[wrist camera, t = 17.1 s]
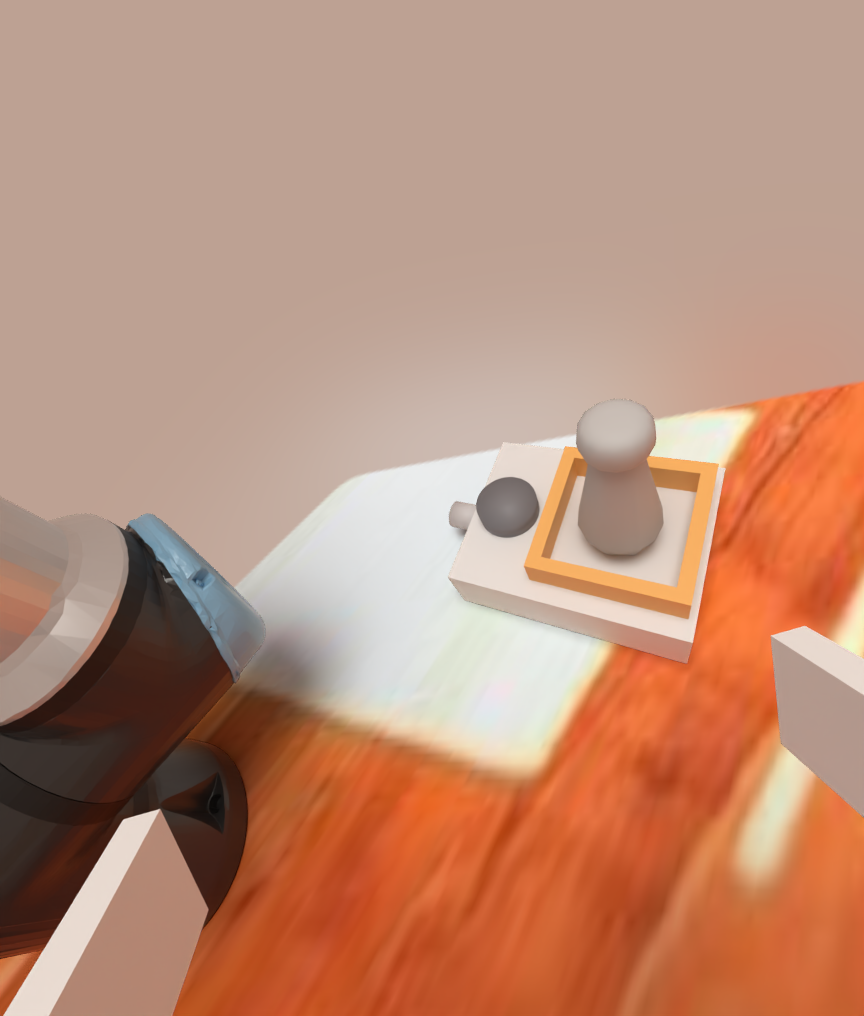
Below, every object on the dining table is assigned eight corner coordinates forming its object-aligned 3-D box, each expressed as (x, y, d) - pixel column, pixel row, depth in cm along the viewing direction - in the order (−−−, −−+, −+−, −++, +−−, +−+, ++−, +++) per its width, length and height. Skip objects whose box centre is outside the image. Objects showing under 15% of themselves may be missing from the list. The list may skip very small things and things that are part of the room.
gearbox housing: (435, 591, 46) (405, 555, 40) (486, 469, 52) (466, 421, 46) (687, 664, 36) (696, 630, 30) (717, 503, 42) (730, 447, 36)
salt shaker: (572, 557, 38) (547, 455, 28) (590, 495, 41) (573, 379, 30) (654, 575, 35) (660, 468, 25) (669, 507, 38) (680, 383, 28)
